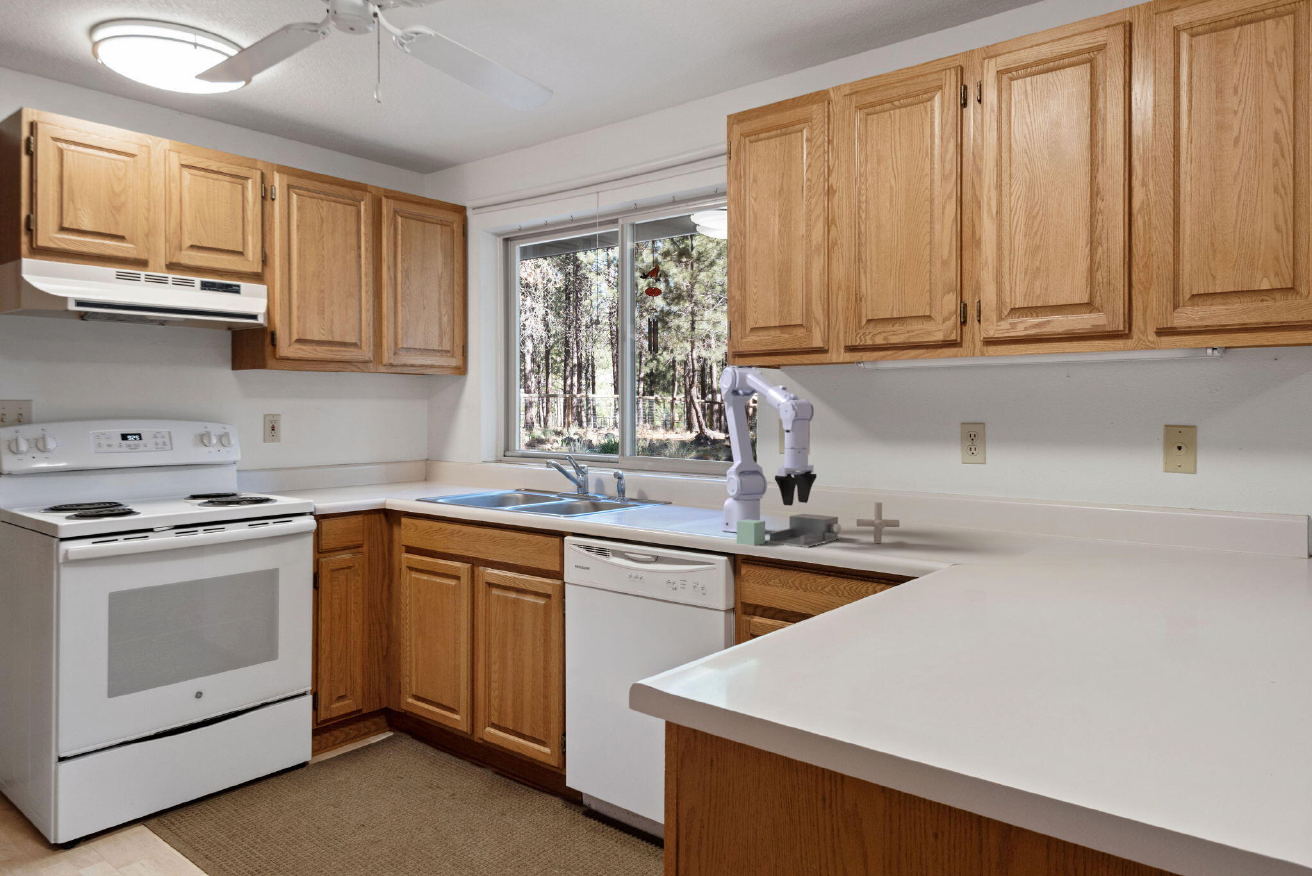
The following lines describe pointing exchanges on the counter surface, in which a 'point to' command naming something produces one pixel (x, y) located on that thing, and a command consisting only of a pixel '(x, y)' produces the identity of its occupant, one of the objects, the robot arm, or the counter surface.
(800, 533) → the motor mount
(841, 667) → the counter surface
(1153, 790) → the counter surface
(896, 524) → the pipe connector
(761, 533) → the pale mint cube
